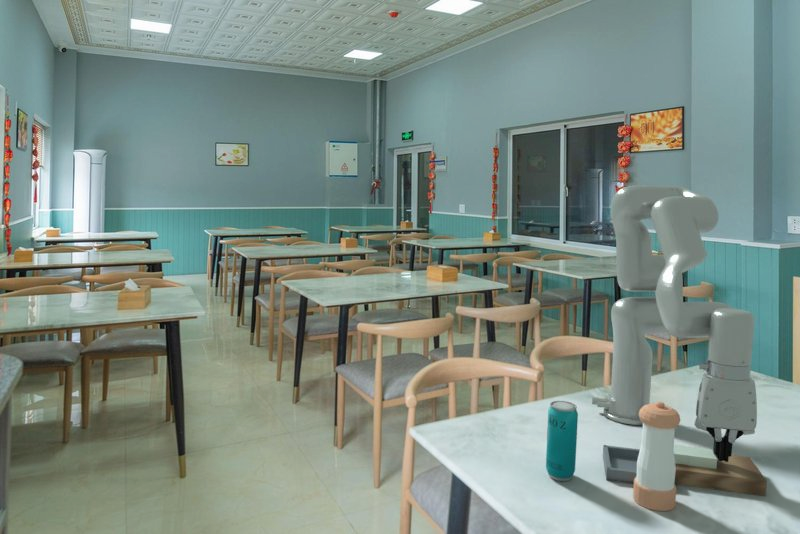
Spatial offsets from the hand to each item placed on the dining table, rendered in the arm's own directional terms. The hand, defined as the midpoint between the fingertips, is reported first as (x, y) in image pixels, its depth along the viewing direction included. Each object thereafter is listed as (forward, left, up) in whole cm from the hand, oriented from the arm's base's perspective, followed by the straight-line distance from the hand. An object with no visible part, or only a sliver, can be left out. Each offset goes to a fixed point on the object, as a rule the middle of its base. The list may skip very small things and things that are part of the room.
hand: (721, 458), depth 117 cm
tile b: (-9, 0, -1) cm, 9 cm away
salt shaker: (-14, -14, -4) cm, 21 cm away
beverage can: (-31, -9, -4) cm, 33 cm away
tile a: (-4, 0, -1) cm, 4 cm away
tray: (-16, -2, -4) cm, 17 cm away
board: (-1, 0, -4) cm, 4 cm away
